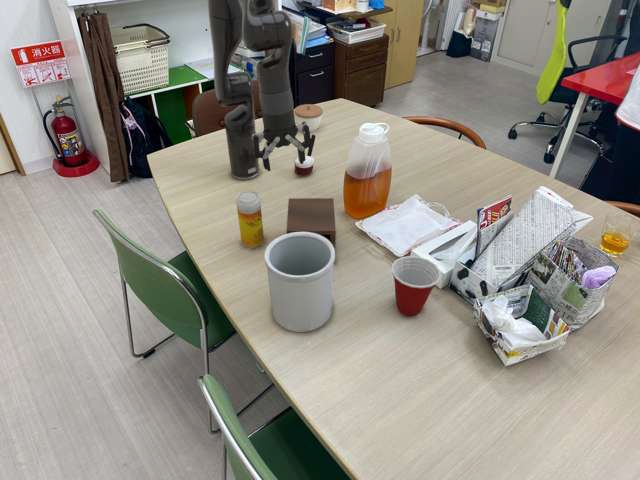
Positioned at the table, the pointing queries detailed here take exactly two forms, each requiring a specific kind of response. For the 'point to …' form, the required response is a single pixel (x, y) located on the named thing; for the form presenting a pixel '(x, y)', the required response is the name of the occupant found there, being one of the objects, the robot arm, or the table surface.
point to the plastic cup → (413, 283)
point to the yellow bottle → (250, 218)
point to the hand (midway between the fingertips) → (284, 166)
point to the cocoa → (308, 163)
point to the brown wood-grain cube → (312, 217)
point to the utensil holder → (300, 280)
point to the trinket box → (309, 115)
